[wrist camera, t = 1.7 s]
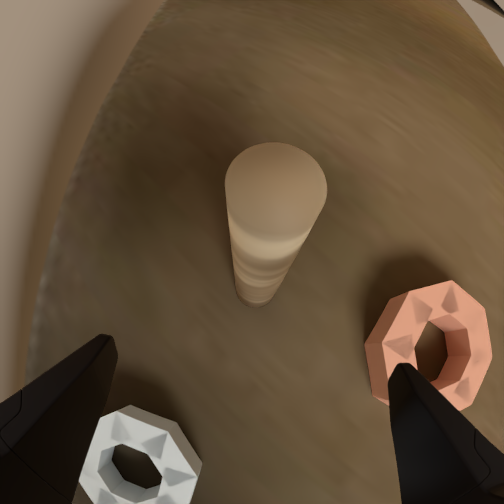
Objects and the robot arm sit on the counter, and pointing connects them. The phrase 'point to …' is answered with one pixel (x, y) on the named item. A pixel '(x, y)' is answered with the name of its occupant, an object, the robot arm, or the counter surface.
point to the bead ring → (456, 335)
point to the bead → (150, 442)
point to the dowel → (270, 214)
